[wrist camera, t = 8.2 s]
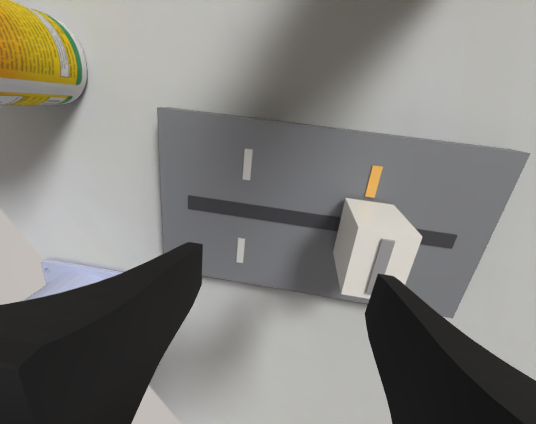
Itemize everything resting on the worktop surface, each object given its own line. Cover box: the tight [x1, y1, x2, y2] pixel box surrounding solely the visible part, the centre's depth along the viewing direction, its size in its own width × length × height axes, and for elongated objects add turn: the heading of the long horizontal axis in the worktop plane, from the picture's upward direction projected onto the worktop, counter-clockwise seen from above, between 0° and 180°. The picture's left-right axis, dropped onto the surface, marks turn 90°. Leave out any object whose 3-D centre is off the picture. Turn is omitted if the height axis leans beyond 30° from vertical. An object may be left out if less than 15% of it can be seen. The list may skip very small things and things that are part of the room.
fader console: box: [157, 107, 530, 318], centre depth 19 cm, size 12×22×2 cm, turn 83°
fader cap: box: [333, 198, 422, 299], centre depth 16 cm, size 4×3×5 cm
